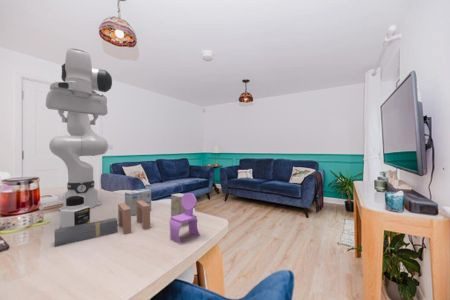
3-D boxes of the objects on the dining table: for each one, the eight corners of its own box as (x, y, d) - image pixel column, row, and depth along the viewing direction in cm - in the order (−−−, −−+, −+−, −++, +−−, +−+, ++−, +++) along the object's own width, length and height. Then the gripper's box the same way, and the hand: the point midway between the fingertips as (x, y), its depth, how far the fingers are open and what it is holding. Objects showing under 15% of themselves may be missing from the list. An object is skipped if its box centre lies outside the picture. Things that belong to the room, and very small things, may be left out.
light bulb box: (144, 208, 105) (144, 188, 105) (151, 210, 101) (151, 189, 101) (124, 213, 97) (124, 191, 97) (131, 216, 93) (131, 193, 93)
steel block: (55, 242, 67) (55, 228, 67) (115, 229, 78) (115, 217, 78) (54, 247, 63) (54, 232, 63) (117, 232, 74) (117, 220, 75)
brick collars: (118, 225, 81) (118, 203, 81) (142, 220, 87) (142, 200, 87) (124, 234, 73) (123, 210, 73) (150, 227, 78) (150, 205, 78)
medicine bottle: (74, 229, 78) (74, 198, 78) (59, 228, 79) (59, 198, 79) (90, 222, 85) (90, 194, 85) (76, 221, 86) (76, 194, 86)
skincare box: (170, 223, 83) (170, 194, 83) (179, 220, 86) (179, 192, 86) (179, 227, 79) (179, 196, 79) (188, 224, 82) (188, 194, 82)
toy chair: (167, 238, 69) (166, 195, 69) (187, 230, 76) (187, 191, 76) (181, 245, 64) (181, 198, 64) (202, 236, 70) (201, 194, 70)
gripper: (103, 96, 91) (104, 126, 91) (44, 85, 75) (44, 121, 74) (109, 93, 87) (110, 125, 87) (48, 81, 71) (49, 119, 71)
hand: (79, 123), depth 80 cm, fingers open, 8 cm apart
